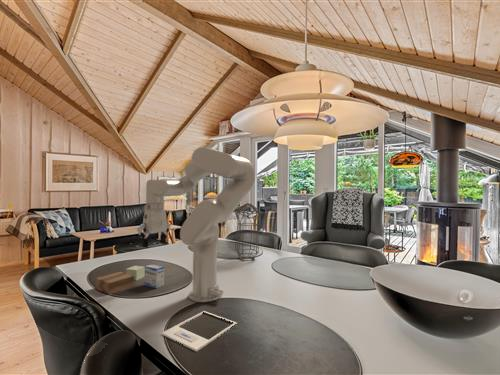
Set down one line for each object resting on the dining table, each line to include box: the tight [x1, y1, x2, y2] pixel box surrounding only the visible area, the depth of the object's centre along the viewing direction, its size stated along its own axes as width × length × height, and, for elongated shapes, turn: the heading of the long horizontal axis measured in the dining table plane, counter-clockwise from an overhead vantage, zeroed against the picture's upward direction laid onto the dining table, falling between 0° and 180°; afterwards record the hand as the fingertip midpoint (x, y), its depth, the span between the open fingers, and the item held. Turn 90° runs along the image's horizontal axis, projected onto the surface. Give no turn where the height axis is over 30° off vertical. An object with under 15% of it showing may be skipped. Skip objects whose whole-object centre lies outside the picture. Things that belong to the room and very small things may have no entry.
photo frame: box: [161, 310, 238, 352], centre depth 84 cm, size 15×1×18 cm
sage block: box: [125, 265, 145, 281], centre depth 131 cm, size 6×6×5 cm
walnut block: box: [95, 271, 135, 295], centre depth 118 cm, size 11×11×5 cm
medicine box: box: [143, 264, 165, 289], centre depth 121 cm, size 8×4×9 cm, turn 62°
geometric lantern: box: [233, 202, 264, 262], centre depth 169 cm, size 16×16×35 cm
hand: (154, 245), depth 121 cm, fingers open, 9 cm apart
